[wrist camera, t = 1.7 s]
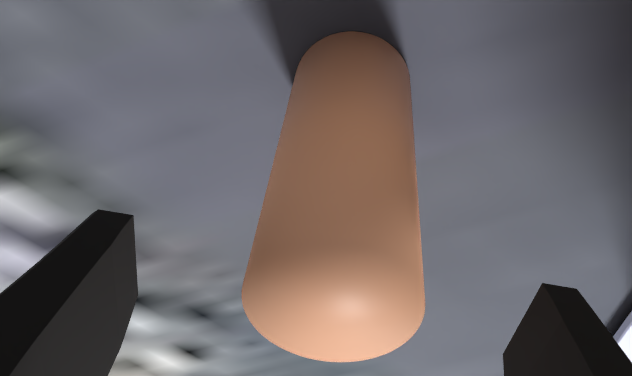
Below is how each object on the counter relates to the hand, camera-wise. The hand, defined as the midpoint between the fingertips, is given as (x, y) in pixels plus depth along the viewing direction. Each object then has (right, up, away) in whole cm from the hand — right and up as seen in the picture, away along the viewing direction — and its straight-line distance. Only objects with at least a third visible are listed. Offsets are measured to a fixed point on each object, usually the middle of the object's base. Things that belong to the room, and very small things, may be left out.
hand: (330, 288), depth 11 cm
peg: (+1, +5, +6) cm, 8 cm away
